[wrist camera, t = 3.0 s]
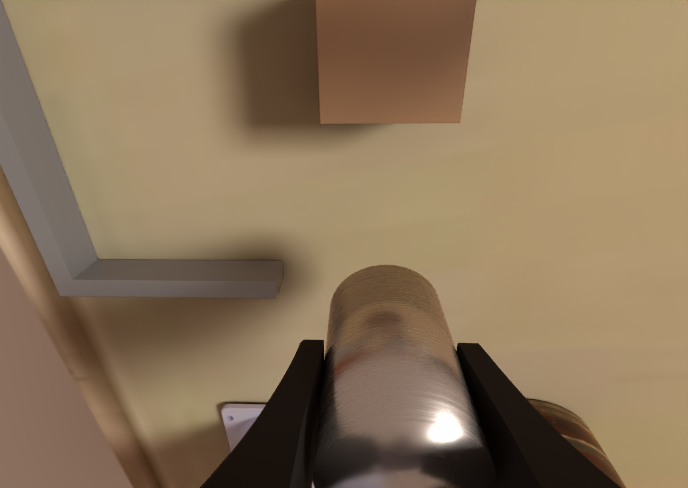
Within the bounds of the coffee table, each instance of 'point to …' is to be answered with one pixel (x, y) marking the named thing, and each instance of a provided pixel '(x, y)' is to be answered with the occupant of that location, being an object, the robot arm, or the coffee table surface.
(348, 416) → the silver cylinder
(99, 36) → the coffee table surface
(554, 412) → the jar
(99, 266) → the parts pen
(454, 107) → the walnut block
